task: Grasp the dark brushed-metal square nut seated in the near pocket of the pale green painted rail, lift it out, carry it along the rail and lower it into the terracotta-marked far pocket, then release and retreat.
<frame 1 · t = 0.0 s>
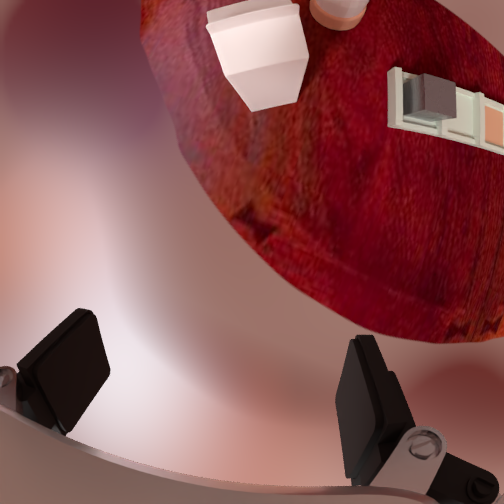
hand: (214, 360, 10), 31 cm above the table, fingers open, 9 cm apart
milk: (268, 86, 35), on the table
pepper shaker: (335, 10, 30), on the table
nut: (416, 103, 32), point 1 cm above the table, touching rail
rail: (454, 114, 32), on the table
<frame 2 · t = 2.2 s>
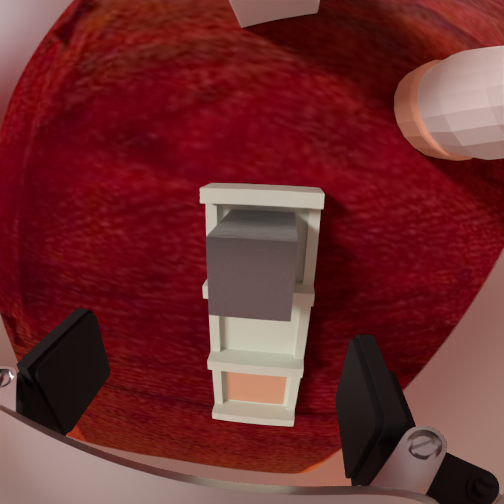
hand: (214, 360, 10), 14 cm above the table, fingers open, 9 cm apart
pepper shaker: (433, 112, 18), on the table
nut: (262, 241, 22), point 1 cm above the table, touching rail
rail: (259, 316, 25), on the table
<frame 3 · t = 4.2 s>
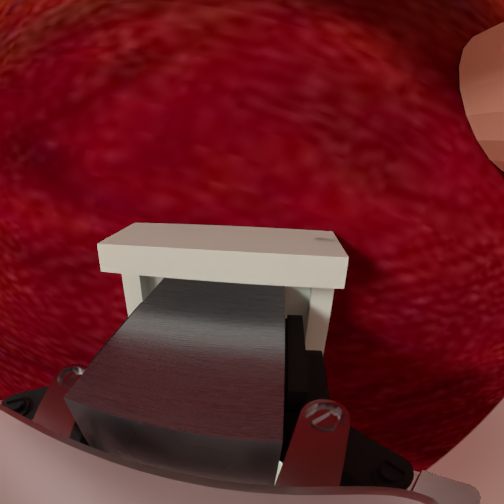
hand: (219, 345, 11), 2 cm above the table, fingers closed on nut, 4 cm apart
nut: (224, 328, 12), point 1 cm above the table, touching gripper, rail
rail: (231, 418, 15), on the table
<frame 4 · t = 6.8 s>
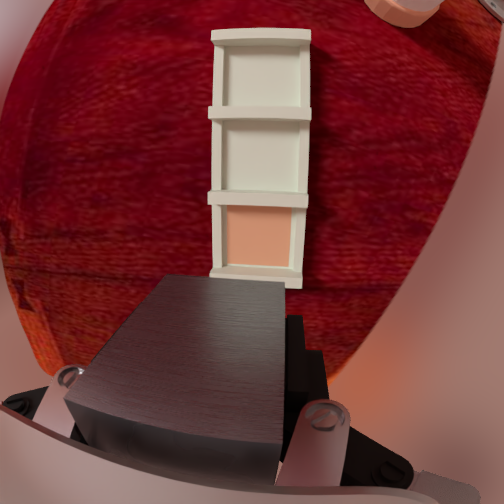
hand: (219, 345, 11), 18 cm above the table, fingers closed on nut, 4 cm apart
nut: (224, 328, 12), point 16 cm above the table, touching gripper
rail: (261, 155, 25), on the table
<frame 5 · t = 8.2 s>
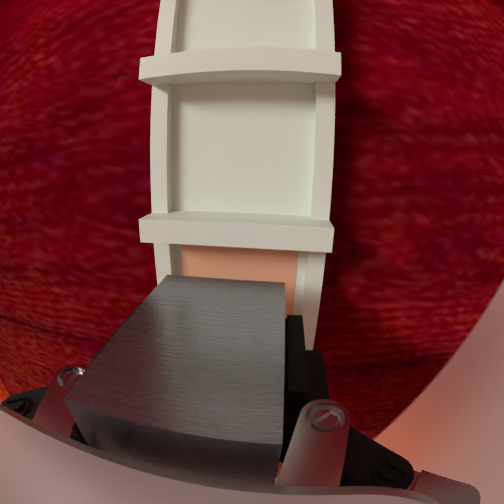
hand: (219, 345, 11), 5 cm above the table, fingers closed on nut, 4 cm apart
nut: (224, 329, 12), point 4 cm above the table, touching gripper
rail: (243, 146, 14), on the table
when the fingers open (4 cm above the table, at t = 9.2 s): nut drops 1 cm, resting on rail.
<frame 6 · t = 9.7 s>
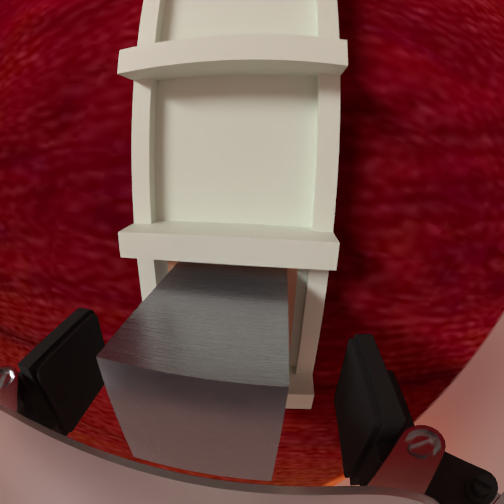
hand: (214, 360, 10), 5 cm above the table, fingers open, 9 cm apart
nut: (232, 309, 13), point 1 cm above the table, touching rail
rail: (235, 148, 12), on the table
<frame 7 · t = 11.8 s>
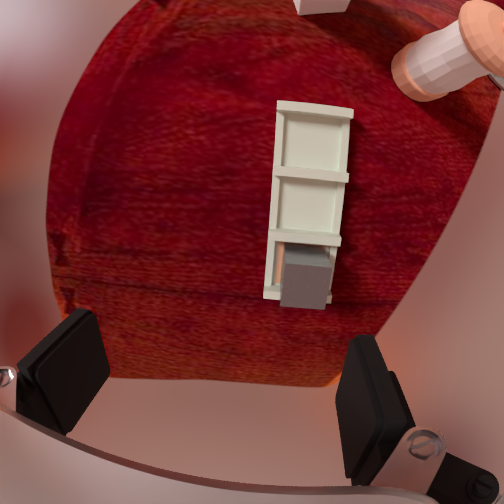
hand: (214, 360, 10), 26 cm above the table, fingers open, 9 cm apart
pepper shaker: (416, 75, 28), on the table
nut: (301, 262, 35), point 1 cm above the table, touching rail
rail: (305, 202, 34), on the table
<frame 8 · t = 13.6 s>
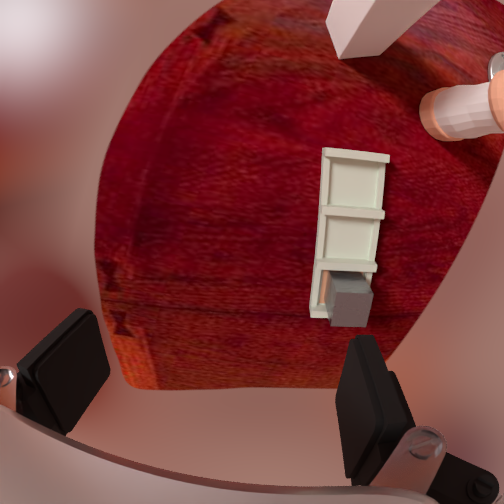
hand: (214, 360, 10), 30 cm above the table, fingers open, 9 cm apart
milk: (352, 38, 30), on the table
pepper shaker: (440, 115, 32), on the table
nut: (341, 285, 40), point 1 cm above the table, touching rail
rail: (346, 234, 39), on the table
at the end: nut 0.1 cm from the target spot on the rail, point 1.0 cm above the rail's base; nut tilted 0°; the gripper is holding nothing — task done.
